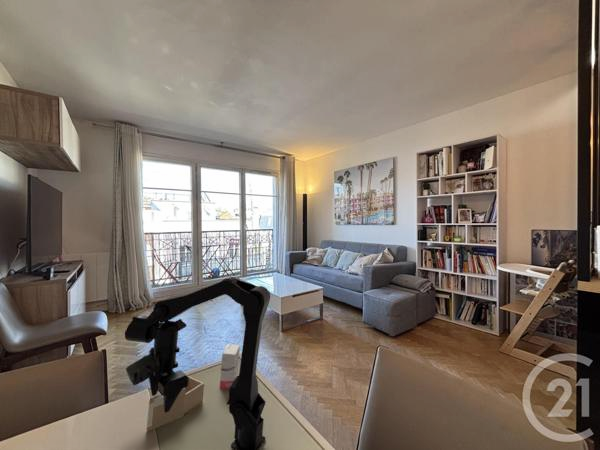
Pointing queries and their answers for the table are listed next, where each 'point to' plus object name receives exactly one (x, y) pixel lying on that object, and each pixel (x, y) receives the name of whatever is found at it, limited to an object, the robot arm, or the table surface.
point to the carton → (193, 395)
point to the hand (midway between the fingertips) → (160, 403)
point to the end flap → (157, 411)
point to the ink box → (229, 365)
